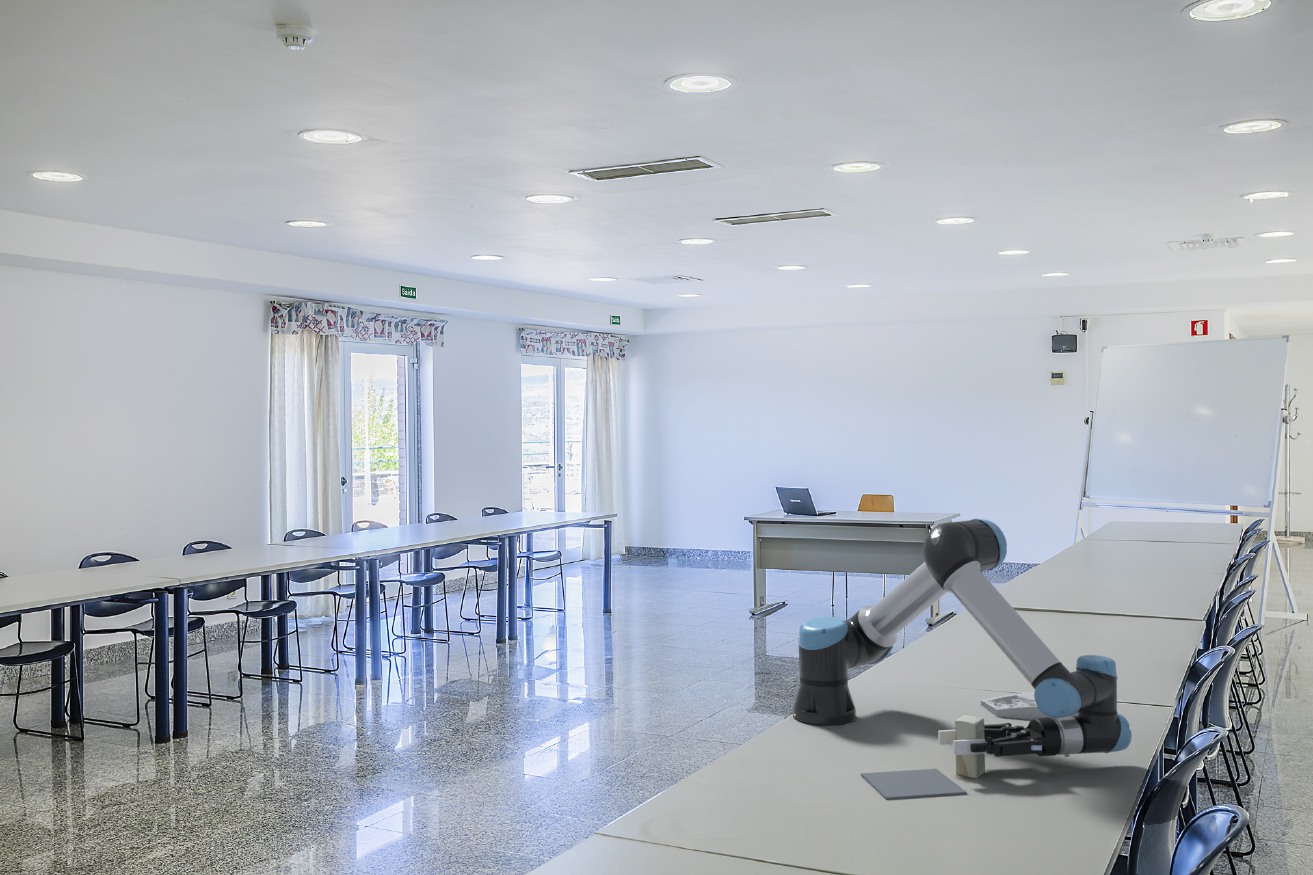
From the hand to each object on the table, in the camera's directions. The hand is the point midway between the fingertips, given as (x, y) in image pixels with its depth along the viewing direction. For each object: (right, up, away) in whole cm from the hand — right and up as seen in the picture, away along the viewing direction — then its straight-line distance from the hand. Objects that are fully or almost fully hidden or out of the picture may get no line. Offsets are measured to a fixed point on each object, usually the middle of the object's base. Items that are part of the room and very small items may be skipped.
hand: (946, 742), depth 205 cm
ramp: (+34, -7, +44) cm, 56 cm away
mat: (-8, -7, -5) cm, 12 cm away
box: (+5, -7, +1) cm, 8 cm away
